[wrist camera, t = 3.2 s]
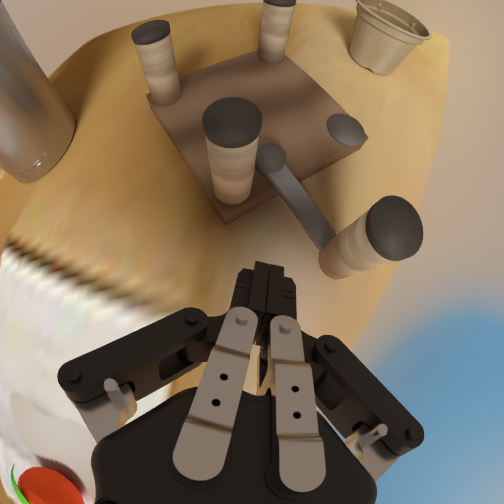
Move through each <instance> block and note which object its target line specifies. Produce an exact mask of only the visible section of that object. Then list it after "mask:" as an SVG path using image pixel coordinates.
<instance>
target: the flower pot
mask: <svg viewBox="0 0 504 504" xmlns="http://www.w3.org/2000/svg"><path fill="white" fill-rule="evenodd" d="M356 2H357V7H356V9H357V18H356V23H355V27H354V32H353V36H352V41H351V45H350V48H349V53H350V55H351V57H352V58H353V59H354V60H355V61H356V62H357V63H358V64H359V65H360V66H362V67H366V68H368V69H370V70H372V71H373V72H374V73H376V74H380V75H389V74H391V73H392V72H393V71H394V70H395V69H396V68H397V66H398V65H399V64H400V63H401V62H402V61H403V60H404V59H405V58H406V57H407V55H408V54H409V53H410V52H411V51H412V50H413V49H414V48H415V47H416V46H417V45H419V44H421V43H422V42H423V41H424V40H428V39H430V38H431V33H430V31H429V29H428V28H427V27H426V26H425V25H424V24H423V23H422V22H421V21H420V20H419V19H418V18H416V17H415V16H414V15H412V14H411V13H409V12H408V11H406V10H405V9H403V8H401V7H400V6H398V5H396V4H394V3H392V2H390V1H387V0H356Z"/></svg>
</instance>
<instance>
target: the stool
mask: <svg viewBox="0 0 504 504" xmlns="http://www.w3.org/2000/svg"><path fill="white" fill-rule="evenodd" d="M263 1H264V2H263V10H262V19H261V28H260V37H259V46H258V51H254V52H251V53H248V54H244V55H241V56H238V57H235V58H232V59H229V60H226V61H223V62H220V63H217V64H215V65H212V66H209V67H207V68H204V69H202V70H199V71H197V72H194V73H192V74H189V75H187V76H185V77H182V78H180V79H179V77H178V72H177V67H176V62H175V56H174V51H173V46H172V40H171V35H170V25H169V22H167V21H165V20H154V21H150V22H147V23H144V24H142V25H140V26H138V27H137V28H135V29H134V30H133V31H132V33H131V36H132V39H133V42H134V44H135V47H136V50H137V53H138V56H139V60H140V63H141V66H142V69H143V72H144V75H145V78H146V81H147V84H148V87H149V90H150V93H149V94H147V95H146V96H147V99H148V102H149V104H150V107H151V109H152V111H153V112H154V114H155V115H156V117H157V119H158V120H159V122H160V123H161V125H162V126H163V128H164V130H165V131H166V133H167V134H168V136H169V137H170V139H171V140H172V142H173V144H174V145H175V147H176V148H177V150H178V151H179V153H180V154H181V156H182V157H183V159H184V161H185V162H186V164H187V165H188V167H189V168H190V170H191V171H192V173H193V174H194V176H195V178H196V179H197V181H198V182H199V184H200V185H201V187H202V188H203V190H204V191H205V193H206V195H207V196H208V198H209V199H210V201H211V202H212V204H213V205H214V207H215V208H216V210H217V211H218V213H219V215H220V216H221V218H222V219H223V221H224V222H225V224H228V223H230V222H231V221H233V220H235V219H236V218H238V217H240V216H241V215H243V214H245V213H246V212H248V211H250V210H251V209H253V208H255V207H257V206H258V205H260V204H262V203H263V202H265V201H267V200H269V199H270V198H272V197H274V196H275V195H277V194H279V192H278V191H277V190H276V188H275V187H274V186H273V184H272V183H271V182H270V180H269V179H268V178H267V176H264V175H262V174H260V173H259V172H258V171H257V170H256V167H255V160H256V153H257V149H258V148H259V147H260V146H261V145H263V144H265V143H275V144H278V145H280V146H281V147H282V148H283V149H284V150H285V152H286V161H285V165H286V166H287V167H288V169H289V170H290V171H291V173H292V174H293V175H294V177H295V178H296V179H297V180H298V182H300V181H302V180H304V179H306V178H307V177H309V176H311V175H313V174H315V173H316V172H318V171H320V170H322V169H324V168H325V167H327V166H329V165H331V164H333V163H335V162H336V161H338V160H340V159H342V158H344V157H346V156H348V155H350V154H351V153H353V152H355V151H357V150H359V149H360V148H361V147H362V145H363V144H364V143H365V141H366V140H367V139H368V136H367V135H366V134H365V132H364V129H363V127H362V126H361V124H360V123H359V122H358V121H357V120H356V119H354V118H353V117H351V116H349V115H348V114H347V113H346V112H345V111H344V110H343V108H342V107H341V106H340V105H339V104H338V103H337V102H336V101H335V100H334V99H333V98H332V97H331V96H330V95H329V94H328V93H327V92H326V91H325V90H324V89H323V88H322V87H321V86H319V85H318V84H317V83H316V82H315V81H314V80H313V79H312V78H311V77H310V76H309V75H308V74H306V73H305V72H304V71H303V70H302V69H301V68H300V67H299V66H297V65H296V64H295V63H294V62H293V61H291V60H290V59H289V58H288V57H287V56H285V55H284V54H285V49H286V45H287V40H288V35H289V30H290V25H291V20H292V15H293V11H294V6H295V4H296V0H263Z"/></svg>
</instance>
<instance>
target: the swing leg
mask: <svg viewBox="0 0 504 504" xmlns="http://www.w3.org/2000/svg"><path fill="white" fill-rule="evenodd" d="M285 161H286V152H285V150H284V149H283V148H282V147H281V146H280V145H278V144H275V143H265V144H263V145H261V146H260V147H259V148H258V149H257V153H256V160H255V167H256V170H257V171H258V172H259V173H260V174H262V175H264V176H267V178H268V179H269V180H270V182H271V183H272V184H273V186H274V187H275V188H276V190H277V191H278V192H279V194H280V195H281V197H282V198H283V199H284V201H285V202H286V204H287V205H288V206H289V208H290V209H291V211H292V212H293V213H294V215H295V216H296V218H297V219H298V220H299V222H300V223H301V225H302V226H303V228H304V229H305V230H306V232H307V233H308V235H309V236H310V238H311V239H312V241H313V242H314V244H315V245H316V246H317V248H318V249H319V251H320V252H319V257H318V259H319V265H320V268H321V269H322V271H323V272H324V273H325V274H326V275H327V276H328V277H330V278H333V279H342V278H346V277H349V276H352V275H355V274H358V273H361V272H364V271H367V270H370V269H373V268H376V267H379V266H382V265H385V264H388V263H391V262H394V261H400V260H403V259H406V258H409V257H411V256H413V255H414V254H415V253H416V252H417V251H418V250H419V248H420V246H421V243H422V240H423V226H422V222H421V219H420V217H419V215H418V213H417V211H416V210H415V208H414V207H413V206H412V205H411V204H410V203H409V202H408V201H406V200H405V199H403V198H401V197H398V196H386V197H383V198H382V199H380V200H379V201H378V202H376V203H375V204H374V205H373V206H372V207H371V208H370V209H369V210H368V211H367V212H366V213H364V214H363V215H362V216H361V217H359V218H358V219H357V220H356V221H354V222H353V223H352V224H350V225H349V226H348V227H347V228H345V229H344V230H343V231H341V232H340V233H339V234H337V235H336V233H335V232H334V230H333V229H332V227H331V226H330V224H329V223H328V222H327V220H326V219H325V217H324V216H323V214H322V213H321V212H320V210H319V209H318V207H317V206H316V205H315V203H314V202H313V201H312V199H311V198H310V196H309V195H308V194H307V192H306V191H305V190H304V188H303V187H302V186H301V184H300V183H299V182H298V180H297V179H296V178H295V177H294V175H293V174H292V173H291V171H290V170H289V169H288V167H287V166H286V165H285Z"/></svg>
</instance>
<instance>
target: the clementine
mask: <svg viewBox="0 0 504 504" xmlns="http://www.w3.org/2000/svg"><path fill="white" fill-rule="evenodd" d="M13 468H14V465H13ZM13 468H12V470H11V480H12V484H13V487H14V490H15V492H16V494H17V496H18V497H19V499H20V501H21V502H22V504H84V501H83V499H82V496H81V494H80V492H79V490H78V489H77V488H76V487H75V485H74V484H73V483H72V482H71V481H70V480H69V479H67V478H66V477H65V476H64V475H62V474H60V473H59V472H57V471H55V470H52V469H49V468H45V467H32V468H30V469H27V470H26V471H25V472H23V474H22V475H21V476H20V478H19V481H18V487H17V485H16V482H15V480H14V476H13Z"/></svg>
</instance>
